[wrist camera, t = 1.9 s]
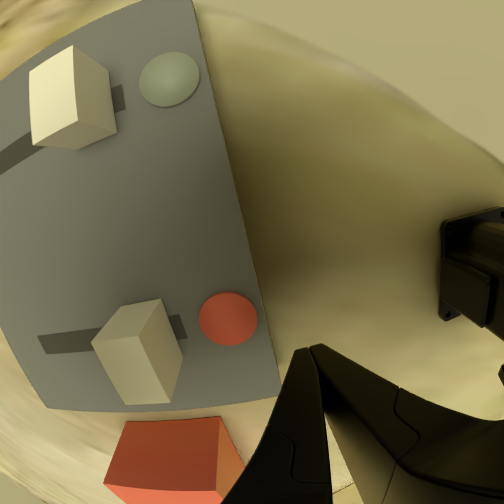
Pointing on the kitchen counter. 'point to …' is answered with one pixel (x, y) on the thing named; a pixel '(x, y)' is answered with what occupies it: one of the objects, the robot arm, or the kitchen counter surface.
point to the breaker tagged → (140, 353)
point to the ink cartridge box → (347, 496)
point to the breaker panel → (131, 224)
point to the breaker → (70, 101)
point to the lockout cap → (174, 462)
